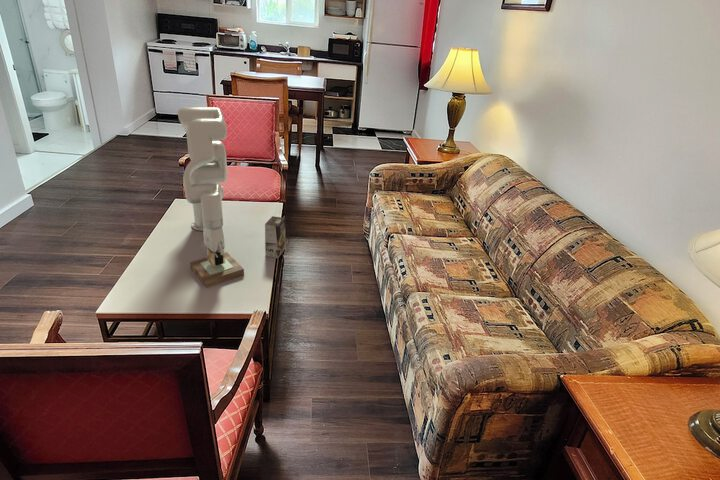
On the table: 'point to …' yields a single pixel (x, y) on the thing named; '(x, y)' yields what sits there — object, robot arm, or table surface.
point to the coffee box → (275, 237)
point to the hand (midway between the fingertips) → (216, 260)
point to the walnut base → (216, 270)
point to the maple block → (213, 257)
